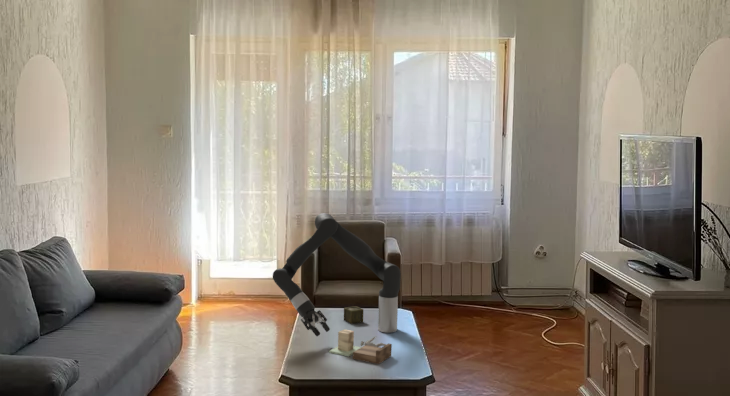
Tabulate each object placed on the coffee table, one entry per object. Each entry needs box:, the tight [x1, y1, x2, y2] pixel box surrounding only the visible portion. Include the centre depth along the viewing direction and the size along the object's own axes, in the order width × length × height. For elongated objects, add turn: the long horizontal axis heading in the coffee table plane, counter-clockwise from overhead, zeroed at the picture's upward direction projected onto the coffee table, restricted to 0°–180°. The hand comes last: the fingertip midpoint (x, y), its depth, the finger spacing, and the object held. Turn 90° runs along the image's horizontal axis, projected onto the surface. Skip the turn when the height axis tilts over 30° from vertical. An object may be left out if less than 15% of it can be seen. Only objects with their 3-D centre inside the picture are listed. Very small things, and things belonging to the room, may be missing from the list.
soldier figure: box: [360, 336, 388, 348], centre depth 324 cm, size 8×5×12 cm
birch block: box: [337, 328, 355, 352], centre depth 321 cm, size 5×5×8 cm
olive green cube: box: [343, 305, 364, 325], centre depth 370 cm, size 7×7×7 cm
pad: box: [328, 345, 362, 357], centre depth 322 cm, size 12×10×1 cm
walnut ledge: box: [352, 343, 393, 365], centre depth 313 cm, size 12×12×6 cm
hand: (323, 333), depth 327 cm, fingers open, 8 cm apart
